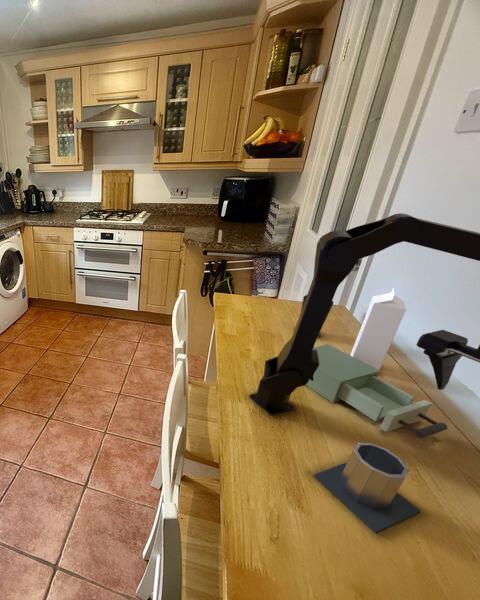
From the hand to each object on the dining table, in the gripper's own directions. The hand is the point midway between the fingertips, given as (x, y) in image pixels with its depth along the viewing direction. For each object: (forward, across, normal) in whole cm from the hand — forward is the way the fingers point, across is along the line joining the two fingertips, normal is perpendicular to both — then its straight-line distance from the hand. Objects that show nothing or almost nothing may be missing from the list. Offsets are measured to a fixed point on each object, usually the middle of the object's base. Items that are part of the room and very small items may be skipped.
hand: (474, 405), depth 55 cm
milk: (+12, +26, -16) cm, 33 cm away
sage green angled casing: (+12, +23, 0) cm, 26 cm away
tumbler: (+12, -1, +22) cm, 25 cm away
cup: (+12, +44, -18) cm, 49 cm away
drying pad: (+12, -1, +22) cm, 25 cm away
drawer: (+11, +11, -1) cm, 15 cm away
